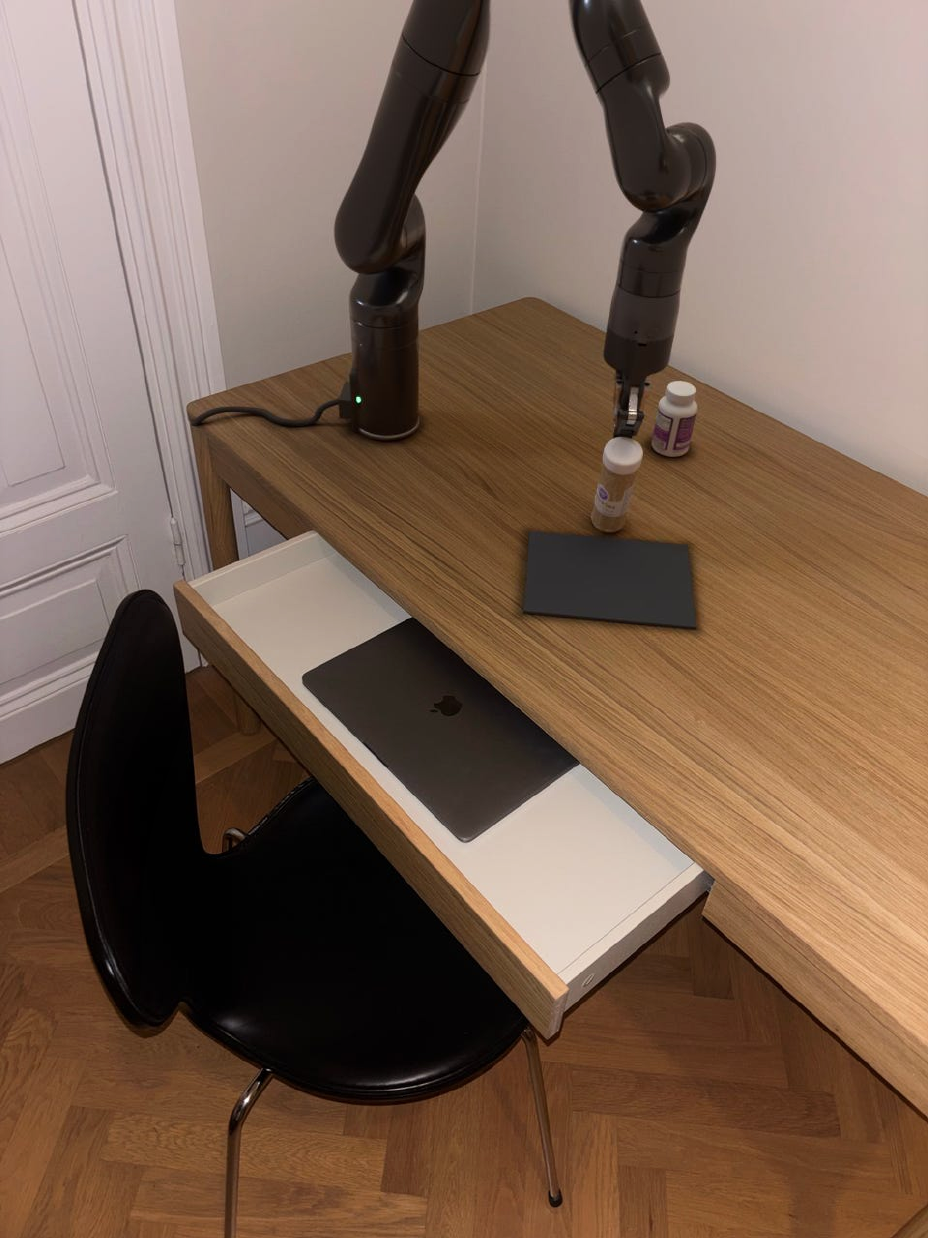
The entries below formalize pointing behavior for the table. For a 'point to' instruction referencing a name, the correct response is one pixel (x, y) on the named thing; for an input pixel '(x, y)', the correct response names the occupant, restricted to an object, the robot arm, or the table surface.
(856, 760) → the table surface
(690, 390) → the pill bottle
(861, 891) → the table surface
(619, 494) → the sprinkles bottle
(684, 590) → the mat
